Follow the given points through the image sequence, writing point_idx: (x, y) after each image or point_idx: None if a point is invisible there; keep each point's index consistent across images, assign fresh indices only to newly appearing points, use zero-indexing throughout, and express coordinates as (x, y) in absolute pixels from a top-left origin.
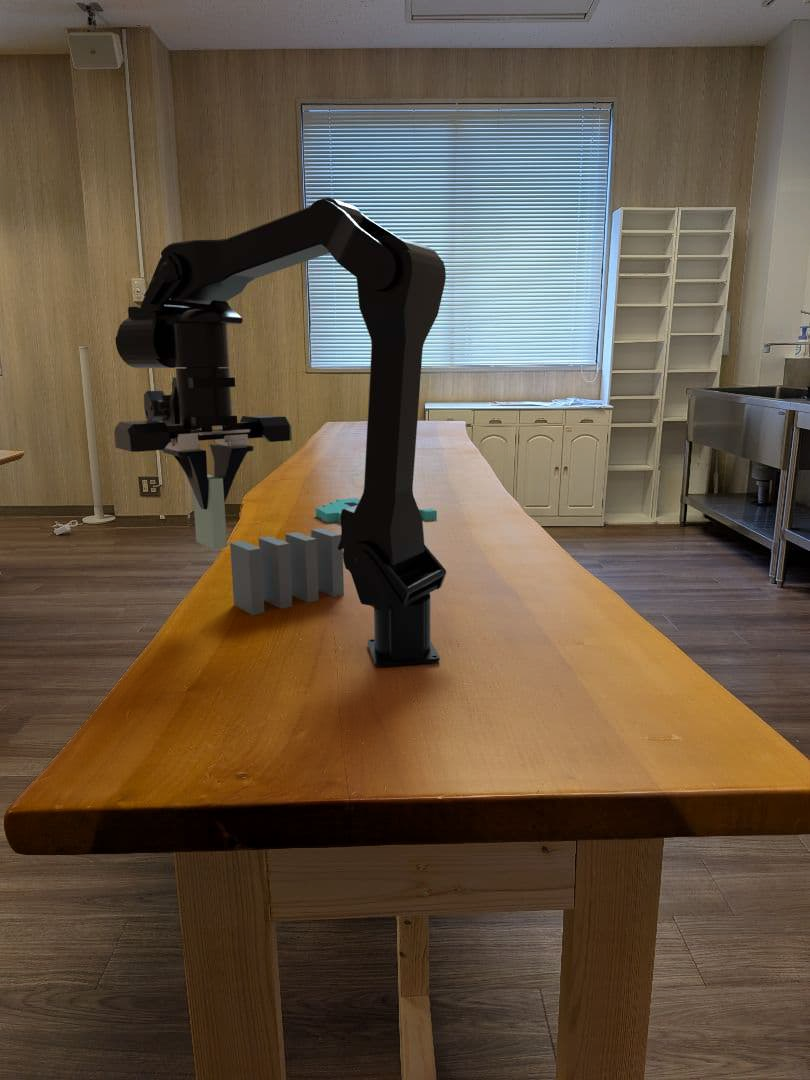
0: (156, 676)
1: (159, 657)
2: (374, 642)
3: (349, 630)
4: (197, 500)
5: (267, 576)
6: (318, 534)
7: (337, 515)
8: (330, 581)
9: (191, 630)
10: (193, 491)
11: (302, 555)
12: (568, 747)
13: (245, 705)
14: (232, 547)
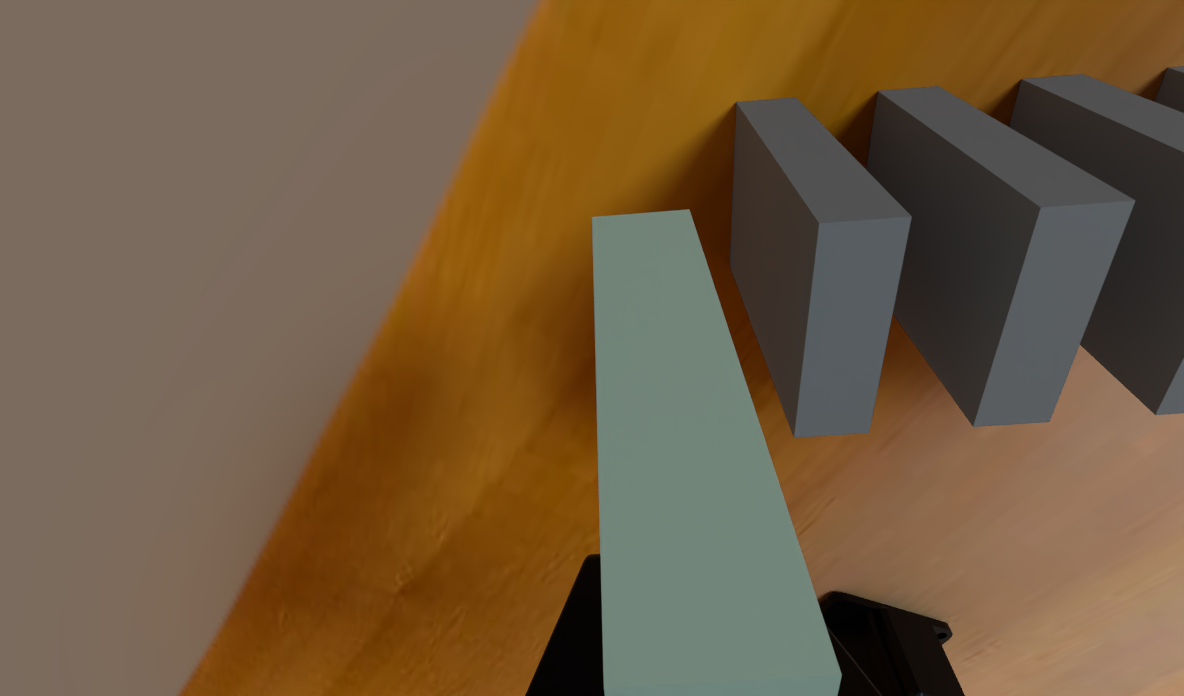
0: (343, 518)
1: (361, 432)
2: (836, 616)
3: (873, 508)
4: (564, 609)
5: (914, 209)
6: None
7: None
8: None
9: (489, 290)
10: (532, 679)
11: (1107, 330)
12: None
13: (484, 667)
14: (807, 243)
